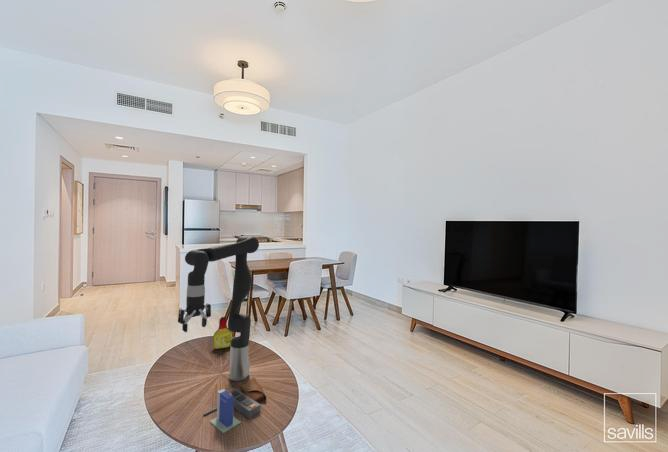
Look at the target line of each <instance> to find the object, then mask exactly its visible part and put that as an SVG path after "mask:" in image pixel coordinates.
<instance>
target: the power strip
mask: <svg viewBox="0 0 668 452" xmlns="http://www.w3.org/2000/svg"><path fill="white" fill-rule="evenodd" d="M228 392H229V393H231V394H232V395H233V396H234V402H233V409H236V410H237V411H238V412H240V413H241V414H242V415H244V416H245V417H247V418H248V419H250V418H252V417H253V416H255V415H257V414H258V413H259V412H261V404H260V403H257V402H256V401H254V400H253V399H251V398H250V397H248V396H247V395H245V394H244V392H243V391H240V390H239V389H237V388H232V389H231V390H228ZM215 411H217V406H216V407H214V408H212V409H210V410H208V411H206V412H204V413H203V414H202V416H203V417H206V416H208V415H209V414H211V413H213V412H215Z"/></svg>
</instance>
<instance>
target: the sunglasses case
mask: <svg viewBox="0 0 668 452" xmlns="http://www.w3.org/2000/svg"><path fill="white" fill-rule="evenodd" d="M239 388H240V389H241V392H242V393H243V394H245V395H247V396H248V397H250V398H251V399H253V400H254V401H256V402H257V403H259V404H260V403H262V402H266V400H267V395H266V394H265V392H264V390H263V388H262V387H261V386H260V384H259V382H258V381H257V380H256V378H255V377H252V378H251V379H250V380H248V381H247V382H245V383H244V384H242V385H241V386H239Z"/></svg>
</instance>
